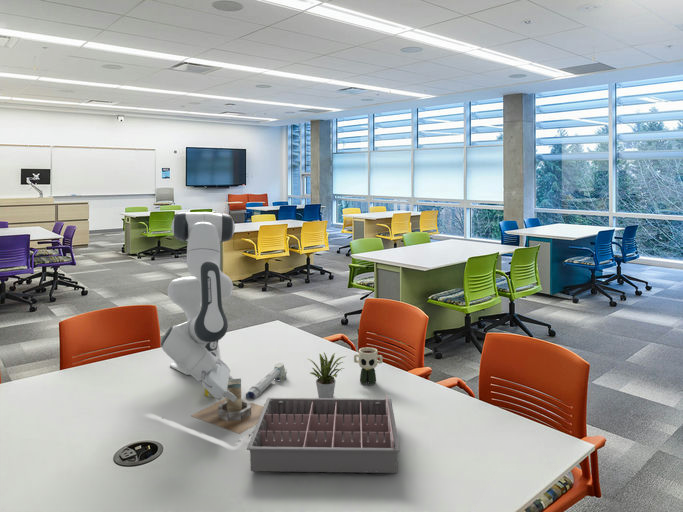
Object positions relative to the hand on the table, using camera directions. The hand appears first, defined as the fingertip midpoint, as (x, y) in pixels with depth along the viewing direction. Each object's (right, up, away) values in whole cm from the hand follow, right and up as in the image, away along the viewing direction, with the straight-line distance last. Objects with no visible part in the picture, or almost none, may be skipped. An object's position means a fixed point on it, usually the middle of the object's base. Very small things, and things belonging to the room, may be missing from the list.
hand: (236, 393), depth 165 cm
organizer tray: (+30, -11, -17) cm, 37 cm away
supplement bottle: (-12, -6, +17) cm, 21 cm away
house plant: (+30, -6, +16) cm, 35 cm away
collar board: (-1, -8, +1) cm, 8 cm away
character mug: (+45, -4, +29) cm, 53 cm away
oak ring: (-4, -6, +9) cm, 11 cm away
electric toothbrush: (+7, -5, +24) cm, 26 cm away
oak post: (-1, -7, +1) cm, 7 cm away
